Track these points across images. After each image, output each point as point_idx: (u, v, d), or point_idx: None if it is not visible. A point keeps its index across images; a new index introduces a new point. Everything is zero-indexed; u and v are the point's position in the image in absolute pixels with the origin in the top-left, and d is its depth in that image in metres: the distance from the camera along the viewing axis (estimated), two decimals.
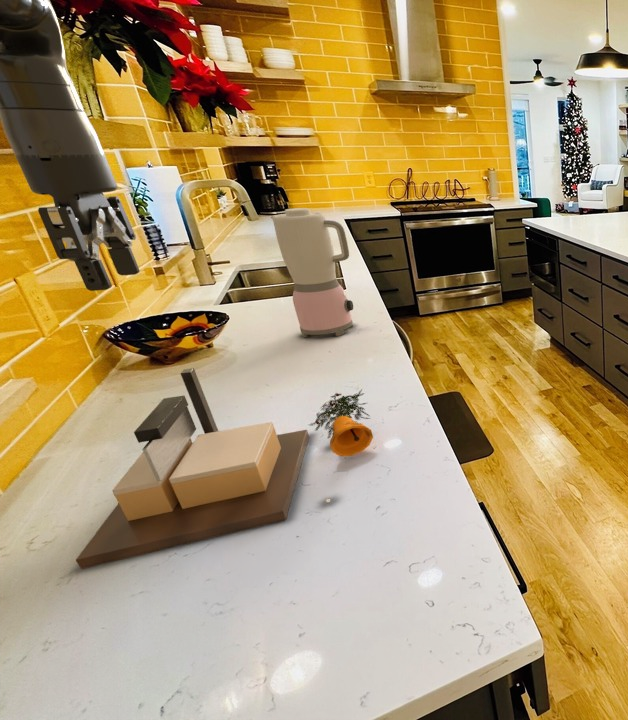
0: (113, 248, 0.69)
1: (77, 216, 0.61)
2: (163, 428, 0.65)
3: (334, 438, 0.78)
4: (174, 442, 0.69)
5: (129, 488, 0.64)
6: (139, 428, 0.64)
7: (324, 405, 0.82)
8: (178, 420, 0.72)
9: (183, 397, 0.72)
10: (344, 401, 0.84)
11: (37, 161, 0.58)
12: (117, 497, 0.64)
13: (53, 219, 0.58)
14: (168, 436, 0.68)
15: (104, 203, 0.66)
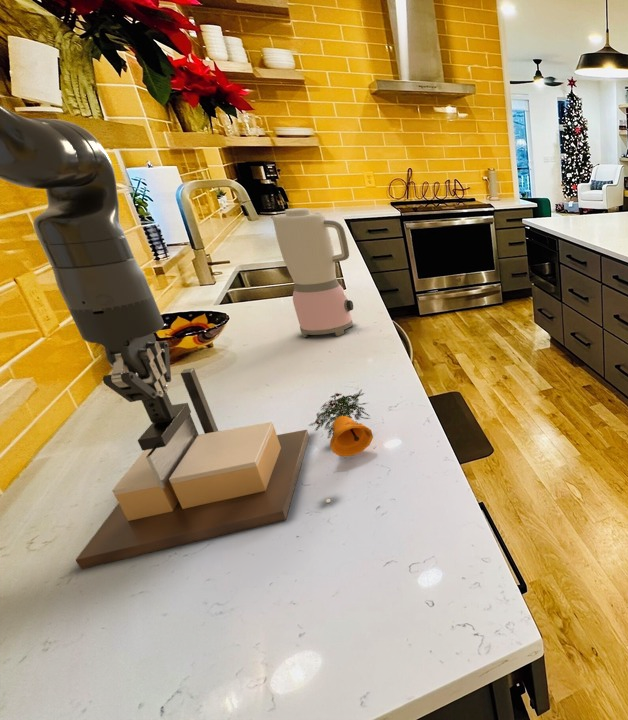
0: None
1: (127, 362, 0.61)
2: (167, 436, 0.66)
3: (334, 438, 0.78)
4: (177, 449, 0.70)
5: (129, 488, 0.64)
6: (142, 436, 0.64)
7: (324, 405, 0.82)
8: (181, 427, 0.72)
9: (186, 404, 0.72)
10: (344, 401, 0.84)
11: (90, 315, 0.58)
12: (117, 497, 0.64)
13: (120, 385, 0.60)
14: (171, 443, 0.69)
15: (150, 335, 0.66)
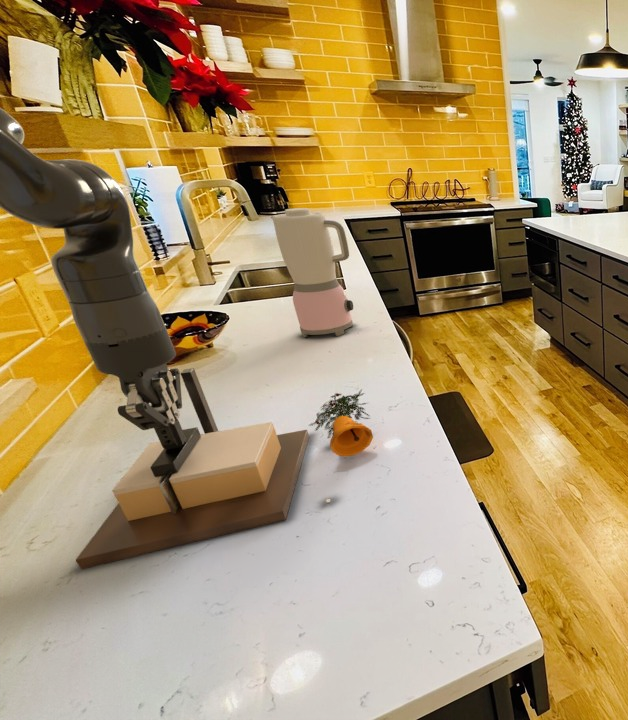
0: None
1: (141, 392, 0.63)
2: (178, 462, 0.68)
3: (334, 438, 0.78)
4: None
5: (129, 488, 0.64)
6: (155, 463, 0.66)
7: (324, 405, 0.82)
8: None
9: (196, 429, 0.74)
10: (344, 401, 0.84)
11: (105, 348, 0.60)
12: (117, 497, 0.64)
13: (134, 415, 0.62)
14: None
15: None
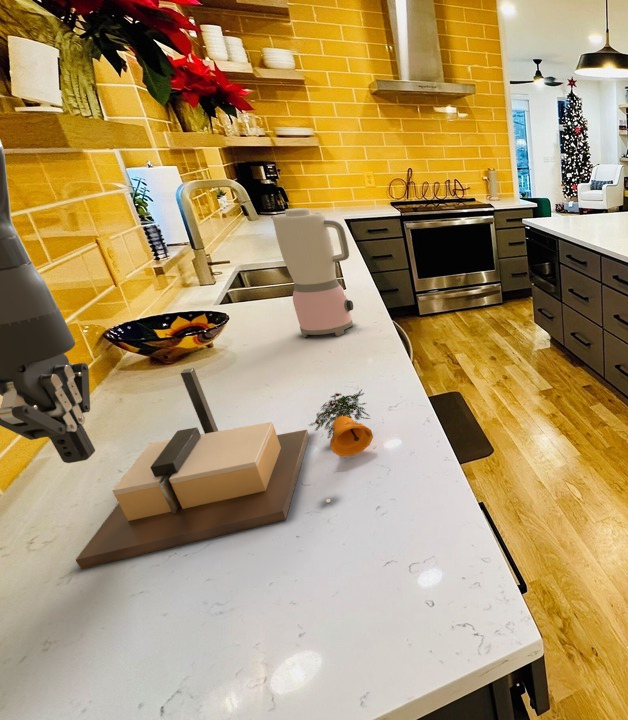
0: None
1: (23, 392, 0.49)
2: (178, 462, 0.68)
3: (334, 438, 0.78)
4: None
5: (129, 488, 0.64)
6: (155, 463, 0.66)
7: (324, 405, 0.82)
8: None
9: (196, 429, 0.74)
10: (344, 401, 0.84)
11: None
12: (117, 497, 0.64)
13: (12, 422, 0.49)
14: None
15: (60, 356, 0.55)
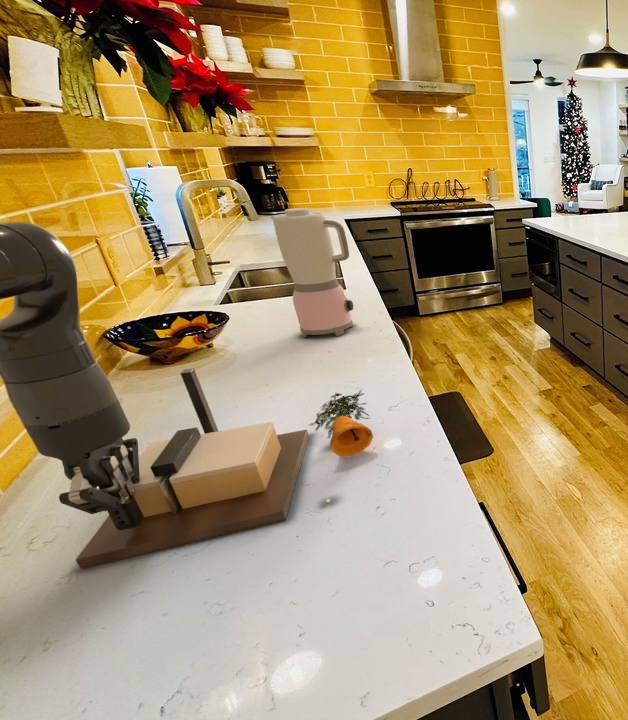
0: None
1: (87, 476, 0.56)
2: (178, 462, 0.68)
3: (334, 438, 0.78)
4: None
5: None
6: (155, 463, 0.66)
7: (324, 405, 0.82)
8: None
9: (196, 429, 0.74)
10: (344, 401, 0.84)
11: (45, 430, 0.54)
12: None
13: (78, 502, 0.56)
14: None
15: None
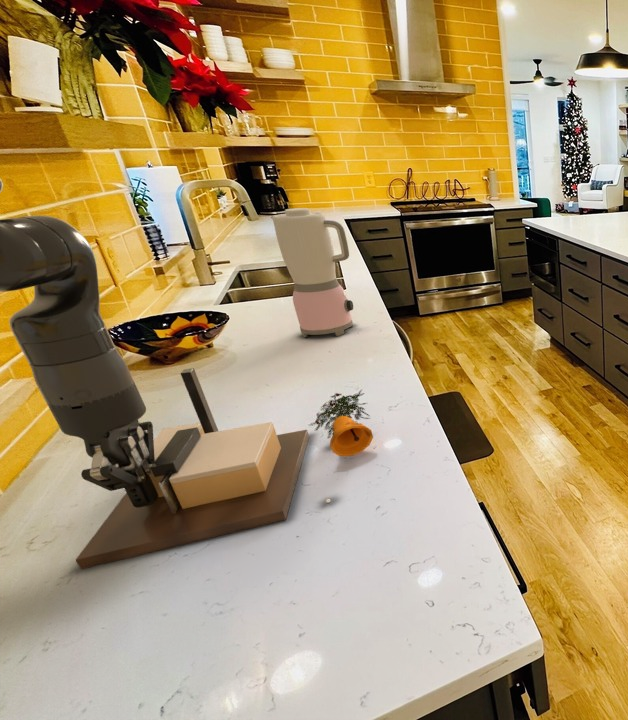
0: None
1: (107, 454, 0.60)
2: (178, 462, 0.68)
3: (334, 438, 0.78)
4: None
5: None
6: (155, 463, 0.66)
7: (324, 405, 0.82)
8: None
9: (196, 429, 0.74)
10: (344, 401, 0.84)
11: (68, 410, 0.57)
12: None
13: (99, 479, 0.59)
14: None
15: None
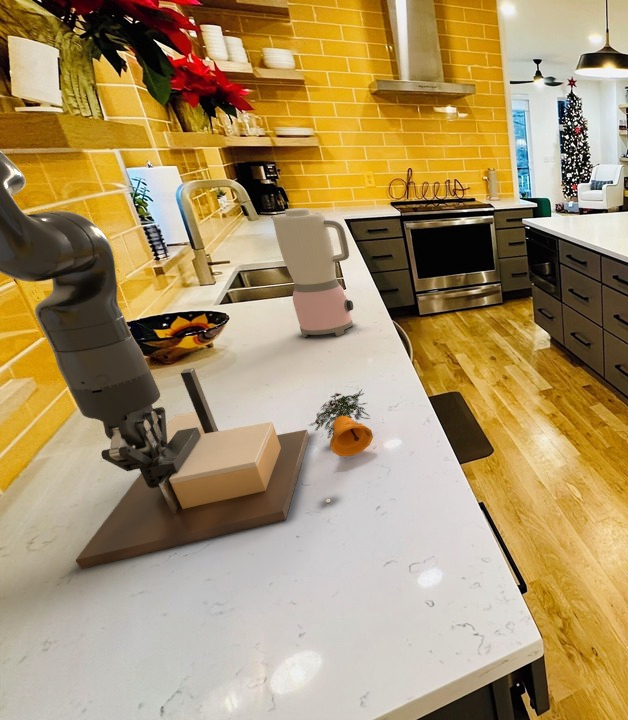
0: None
1: (125, 436, 0.64)
2: (178, 462, 0.68)
3: (334, 438, 0.78)
4: None
5: None
6: (155, 463, 0.66)
7: (324, 405, 0.82)
8: None
9: (196, 429, 0.74)
10: (344, 401, 0.84)
11: (89, 394, 0.61)
12: None
13: (117, 459, 0.63)
14: None
15: None
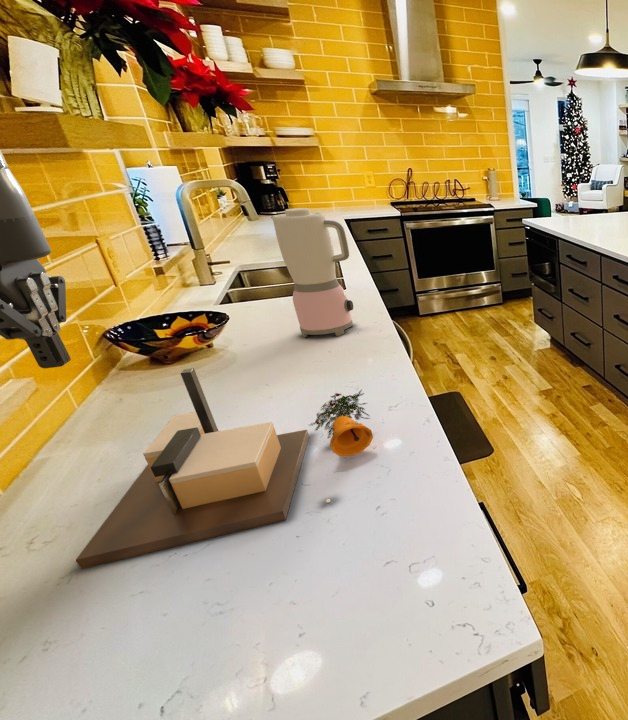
0: None
1: None
2: (178, 462, 0.68)
3: (334, 438, 0.78)
4: None
5: (158, 452, 0.72)
6: (155, 463, 0.66)
7: (324, 405, 0.82)
8: None
9: (196, 429, 0.74)
10: (344, 401, 0.84)
11: None
12: (147, 460, 0.72)
13: None
14: None
15: (37, 265, 0.57)
